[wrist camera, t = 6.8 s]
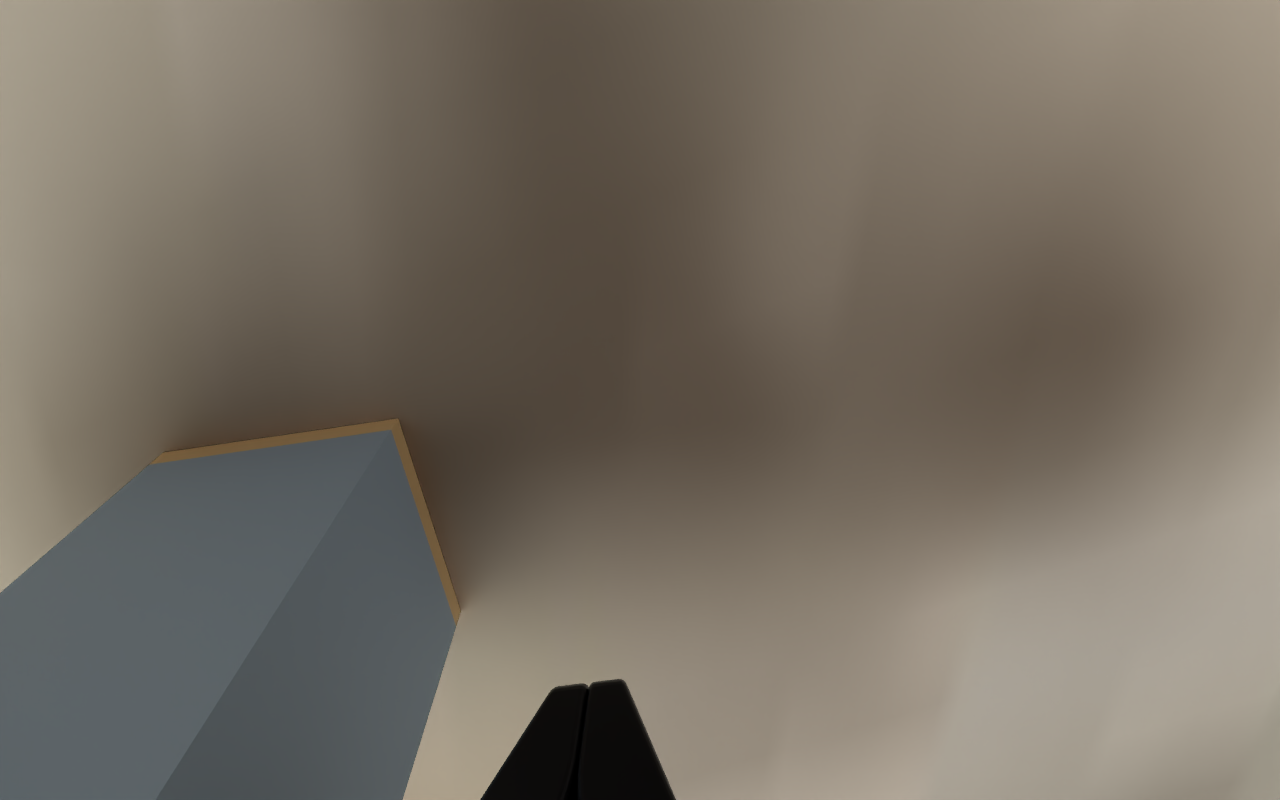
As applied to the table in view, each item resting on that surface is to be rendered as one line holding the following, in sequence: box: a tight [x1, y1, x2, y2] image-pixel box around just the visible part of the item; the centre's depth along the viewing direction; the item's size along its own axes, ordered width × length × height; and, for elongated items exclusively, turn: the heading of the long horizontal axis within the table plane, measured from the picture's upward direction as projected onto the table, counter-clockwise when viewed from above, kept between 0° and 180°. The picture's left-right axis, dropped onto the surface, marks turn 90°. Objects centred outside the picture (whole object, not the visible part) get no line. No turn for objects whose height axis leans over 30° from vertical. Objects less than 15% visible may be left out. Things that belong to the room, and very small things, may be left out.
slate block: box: [0, 419, 461, 800], centre depth 10 cm, size 4×4×8 cm
